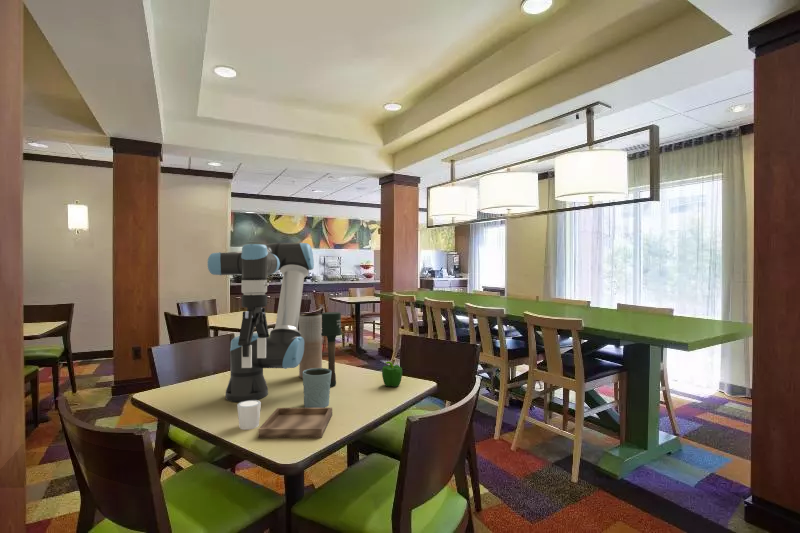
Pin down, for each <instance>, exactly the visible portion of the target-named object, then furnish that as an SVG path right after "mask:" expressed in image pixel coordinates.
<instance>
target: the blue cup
mask: <svg viewBox="0 0 800 533" xmlns="http://www.w3.org/2000/svg"><path fill="white" fill-rule="evenodd" d="M331 373H332V371H331V370H329V369H328V368H323V367H322V368H312V369H307V370H304V371H303V378H302V385H303V406H304V408H328V406H329V405H330V392H331V387H330V384H331Z"/></svg>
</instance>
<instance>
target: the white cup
mask: <svg viewBox="0 0 800 533" xmlns="http://www.w3.org/2000/svg"><path fill="white" fill-rule="evenodd" d="M261 405H262V402H261V401H260V400H259V399H257V400H248V401H243V402H238V403H237V404H236V407H237V409H236V410H237V416H238V426H239V429H240V430H243V431H244V430H246V431H247V430H248V431H249V430H252V429H256V428H258V427H259V426H260V418H261V408H262V407H261Z"/></svg>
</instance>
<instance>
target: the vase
mask: <svg viewBox="0 0 800 533" xmlns="http://www.w3.org/2000/svg"><path fill="white" fill-rule="evenodd" d="M298 331H299V332H300V333H301V337H302V338H303V339H304V353H303V357H302V360H301V362H300V364H299V365H298V367H299V368H298V369H299V370H298V371H299V373H298V376H299V378H300V379H303V371H304V370H307V369H312V368H323V353H322V352H323V346H322V345H323V343H322V342H323V340H322V337H323V336H322V335H321V333H322V313H316V312H315V313H314V312H313V313H310V312H309V313H308V312H307V313H301V314H299V322H298Z"/></svg>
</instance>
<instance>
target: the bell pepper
mask: <svg viewBox="0 0 800 533" xmlns="http://www.w3.org/2000/svg"><path fill="white" fill-rule="evenodd" d="M385 364H386V365H384V366H382V368H381V376H382V377H381V378H382V380H383V381H382V382H383V383H384V385H385V386H386V387H394V388H395V387H396V388H397V387H399V386H400V385H401V381H402V377H403V368H402V366H400V365H398V364H395V365H394V364H393V362H391V361H385Z"/></svg>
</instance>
